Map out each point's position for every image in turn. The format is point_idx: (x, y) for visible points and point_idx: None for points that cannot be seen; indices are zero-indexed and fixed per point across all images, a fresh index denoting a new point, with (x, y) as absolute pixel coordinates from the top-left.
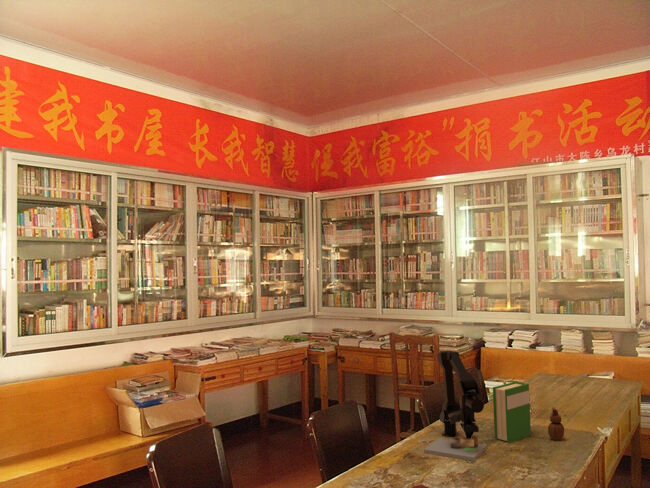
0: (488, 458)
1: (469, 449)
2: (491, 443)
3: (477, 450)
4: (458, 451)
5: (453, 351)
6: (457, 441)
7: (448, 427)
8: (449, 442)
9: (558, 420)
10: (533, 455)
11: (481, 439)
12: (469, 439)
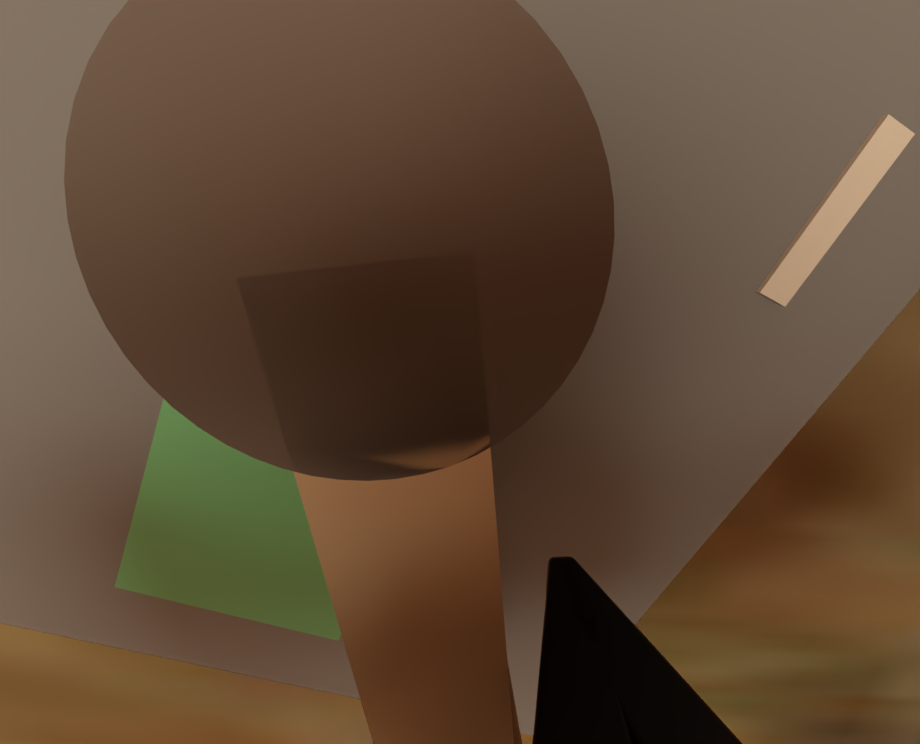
0: (91, 682)
1: (245, 519)
2: (725, 723)
3: (237, 630)
4: (15, 267)
5: None
6: (138, 331)
7: None
8: (819, 78)
9: None
10: None
11: (914, 643)
12: (368, 712)
